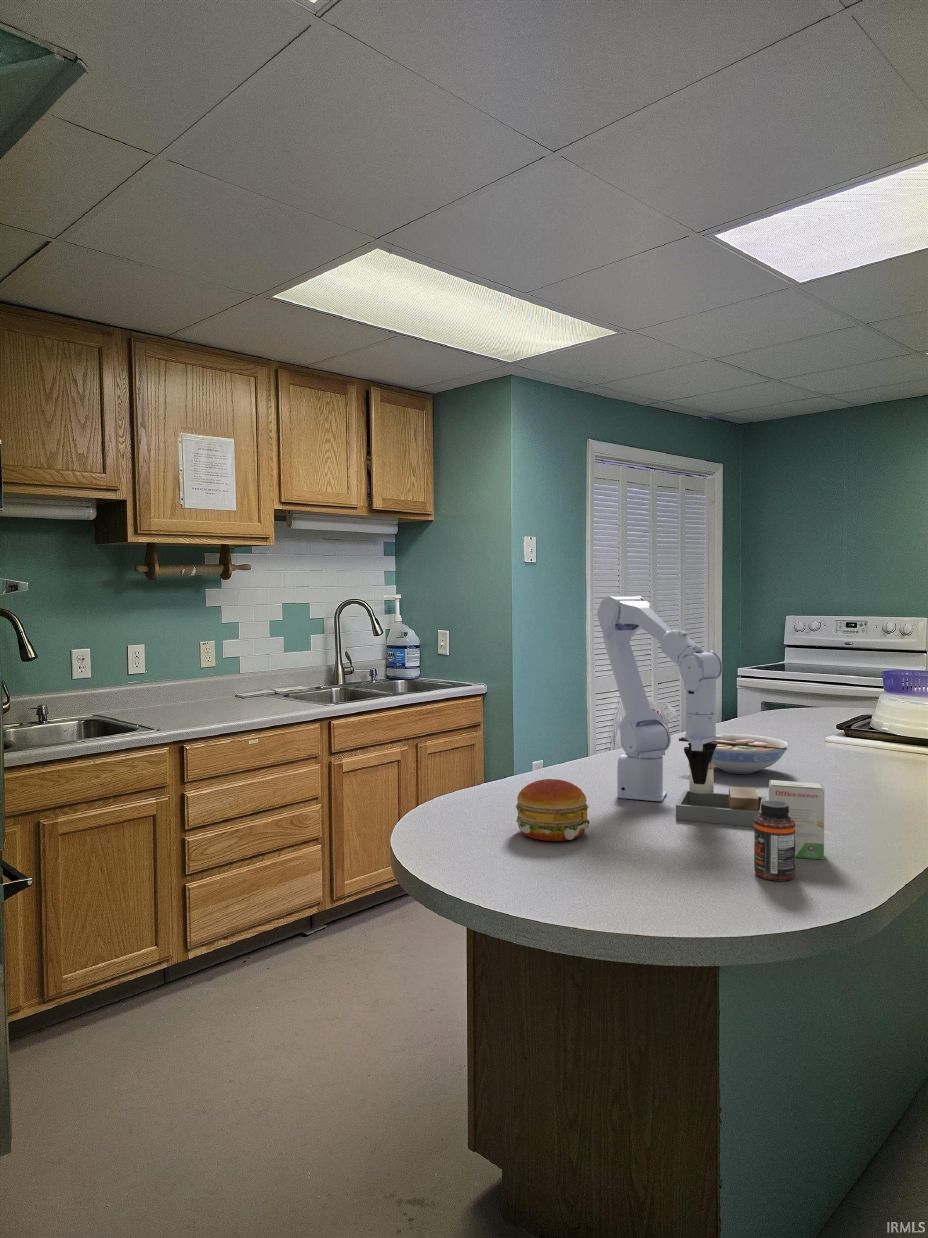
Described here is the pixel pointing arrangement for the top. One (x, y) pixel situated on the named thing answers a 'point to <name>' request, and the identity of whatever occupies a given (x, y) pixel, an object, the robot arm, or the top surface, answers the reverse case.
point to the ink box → (803, 814)
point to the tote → (714, 809)
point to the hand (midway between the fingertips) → (700, 781)
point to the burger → (552, 810)
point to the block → (743, 798)
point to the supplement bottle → (774, 842)
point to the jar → (702, 788)
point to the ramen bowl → (746, 752)
